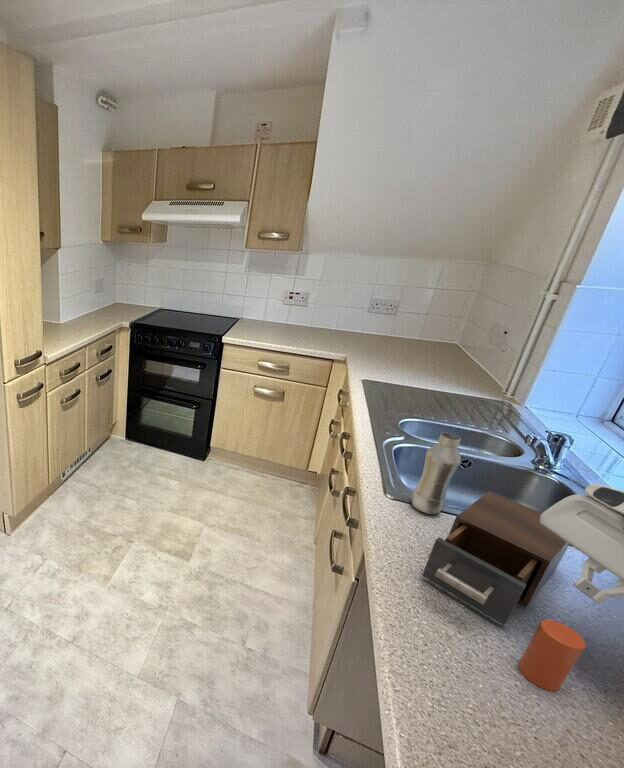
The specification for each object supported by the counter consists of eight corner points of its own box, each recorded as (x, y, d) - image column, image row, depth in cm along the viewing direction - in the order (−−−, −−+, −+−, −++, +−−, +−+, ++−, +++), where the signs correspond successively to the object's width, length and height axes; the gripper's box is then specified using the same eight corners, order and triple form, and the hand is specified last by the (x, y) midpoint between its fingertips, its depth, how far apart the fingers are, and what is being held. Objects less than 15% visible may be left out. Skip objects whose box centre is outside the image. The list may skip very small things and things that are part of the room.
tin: (563, 680, 62) (590, 638, 59) (554, 697, 60) (581, 654, 57) (523, 655, 66) (546, 614, 62) (513, 670, 63) (536, 628, 60)
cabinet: (526, 607, 74) (550, 561, 70) (439, 558, 85) (456, 516, 81) (555, 570, 82) (578, 527, 79) (472, 529, 93) (489, 490, 89)
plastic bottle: (439, 506, 101) (466, 434, 94) (442, 521, 96) (471, 446, 88) (407, 497, 104) (431, 426, 97) (409, 511, 99) (434, 438, 91)
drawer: (493, 639, 67) (513, 599, 64) (409, 586, 77) (423, 549, 74) (534, 587, 77) (554, 550, 74) (456, 546, 87) (470, 512, 84)
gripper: (800, 604, 49) (689, 671, 53) (594, 489, 67) (523, 546, 71) (789, 591, 47) (674, 662, 51) (579, 476, 65) (506, 535, 69)
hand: (584, 594), depth 61 cm, fingers closed
